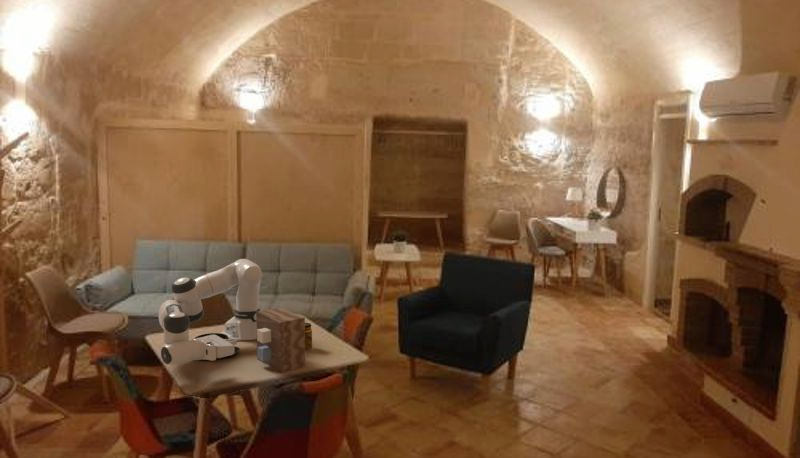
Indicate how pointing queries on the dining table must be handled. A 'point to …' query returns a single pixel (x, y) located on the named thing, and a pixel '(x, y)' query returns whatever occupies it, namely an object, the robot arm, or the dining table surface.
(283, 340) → the block
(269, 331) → the white cube
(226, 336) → the casserole
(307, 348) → the condiment
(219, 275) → the robot arm
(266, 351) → the blue cube
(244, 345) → the dining table surface
